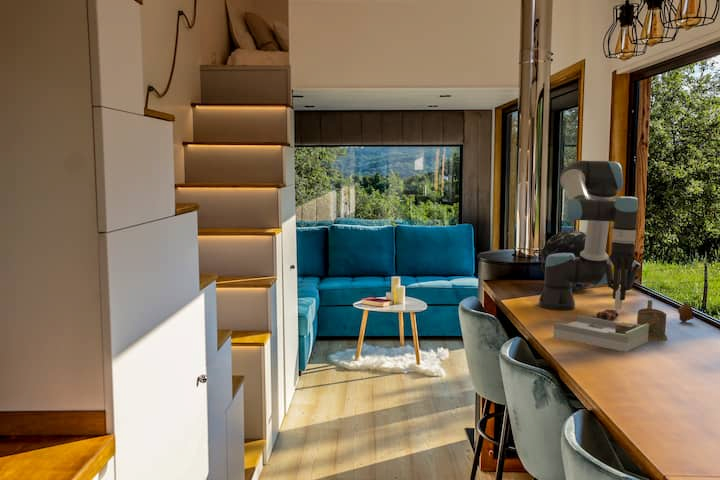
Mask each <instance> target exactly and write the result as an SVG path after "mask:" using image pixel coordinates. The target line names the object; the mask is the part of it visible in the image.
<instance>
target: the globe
mask: <svg viewBox="0 0 720 480" xmlns="http://www.w3.org/2000/svg"><path fill="white" fill-rule="evenodd" d="M585 239H586V232H585V231H582V230H579V229H566V230H562V231H560V232H557V233H555V234H553V235H552V236H551V237H550V238H549V239H547V241H546V243H545V244H544V246H543V248H542V251H541V254H540V266H541V269H542V272H543V275H545V264H546V258H547V256H548V255H551V254H556V253H573V254H574V256H575V257H580V252H581V251H583V250H584V247H585ZM589 286H590V285H586V284H572V291H580V290H582V289H585V288H587V287H589Z"/></svg>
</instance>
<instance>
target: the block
mask: <svg viewBox="0 0 720 480" xmlns="http://www.w3.org/2000/svg"><path fill="white" fill-rule="evenodd" d="M629 323H630V322H623V321H621V322H619V323H618V324H616V328H615V333H620V334H625V332H627V331H630V330H632V329H634V328H636V325H634V324H635V323H634V324H629Z"/></svg>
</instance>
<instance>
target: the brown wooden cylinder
mask: <svg viewBox="0 0 720 480" xmlns="http://www.w3.org/2000/svg"><path fill="white" fill-rule="evenodd" d="M646 323H648V324H649V331H648V341H652V342H655V341H656V342H663V341H667V340H668V336H667V335H666V325H667V324H666V323H667V313H665V312H664V311H662V310H660V309H656V308H653V300H652V299H648V300H647V308H641V309H639V310H638V311H637V318H636V324H639V325H644V324H646Z"/></svg>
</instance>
